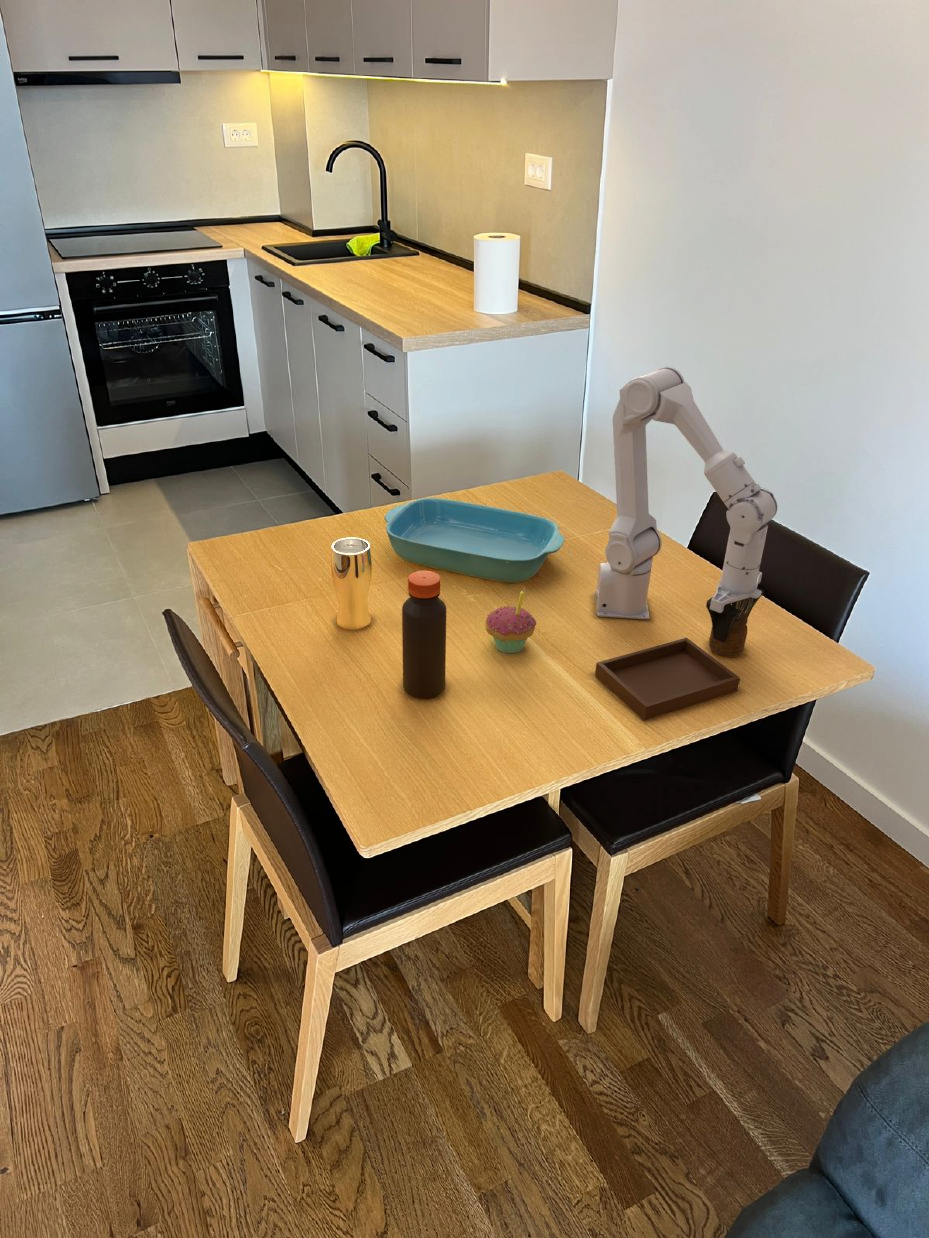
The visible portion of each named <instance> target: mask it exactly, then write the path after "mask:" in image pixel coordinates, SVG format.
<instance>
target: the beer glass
mask: <svg viewBox="0 0 929 1238" xmlns="http://www.w3.org/2000/svg"><path fill="white" fill-rule="evenodd" d="M330 548H331V555H330V556H331V557H330V567H331V568H330V569H331V578H332V583H333V588H334V591H335V593H336V595H335V596H336V600H337V615H336V624H337V625H338V626H339V627H340V628H342V629H345V630H349V631H356V630H362V629H364V628H366V627H368V626H369V625H370V624H371V622H372V617H371V612H370V609H369V597H370V591H371V584H372V578H373V577H372V576H373V565H372V564H373V563H372V562H373V561H372V554H371V553H372V552H371V543H370V542H369V541H367V540H366V539H363V538H359V537H344V538H340V539H338V540H335V541H334V542H333V543H332V544H331V547H330Z"/></svg>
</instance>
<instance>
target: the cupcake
mask: <svg viewBox="0 0 929 1238" xmlns="http://www.w3.org/2000/svg"><path fill="white" fill-rule="evenodd" d="M525 589H526V588H525V587H523V589H522V590H521V591H520V592H519V597H518V600H517V606H508V605H507V606H500V607H498V608H496V609H494V610H492V611H490V613H489V614H488V615H487V617H486V619H485V631H486V632H487V633H488V635H490V636H492V638H493V641H494V645H495V648H496V649H497V650H498V651H500V652H502V653H505V654H516V653H519V652H521V651H522V650H523V649H524V647H525V644H526V642H527V640H528V639H529V638H530V637H532V636H533V635H534V632H535V630H536V626H537V621H536V618H534V617H533V615H532V614H531V613H530V612H528V611H527V610H525V608H524V609H523V608H522V604H523V600H524V597H525Z"/></svg>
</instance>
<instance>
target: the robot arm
mask: <svg viewBox="0 0 929 1238" xmlns="http://www.w3.org/2000/svg"><path fill="white" fill-rule="evenodd" d="M651 421H655V422H660V423H665V424H669V425H674V426H675V427H676V428H677V429H678V431H679V432H680V433H681V435H683V437H684V438H685V440H686V441H687V442H688V443H689V444H690V446H692V448H693V449H694V450H695V452H696V453H697V455H698V456H699V457H700V458H701V460H702V461H703V462H704V470H703V475H704V476H705V478H706V479H707V481H708V482H709V484H710V485H711V486H712V488H713V489H714V490H715V492H716V494H717V495H718V496H719V498H720V500H721V501H722V502H723V503H724V506H725V507H726V508H727V509H728V510H726V515H725V517H726V521H727V523H728V525H729V527H730V529H729V535H728V538H727V539H728V540H727V545H726V550H725V555H724V561H723V566H722V570H721V571H722V572H721V576H720V580H719V582H718V584H717V587H716V591H715V594H714V596H713V597H712V596H711V597H710V598H709V599H707V600H706V605H705V607H706V609H707V611H708V614H709V616H710V617H709V618H710V621H711V629H712V628H713V637H714V639H717V640H719V641H722V642H725V641H726V640H727V638H728V636H729V633H730V630H731V627H732V625H733V623H734V621H735V619H736V617H737V616H738V615H739V614H740V612H741V610H743V611H744V612H745V611H746V614H747V617H748V618H749V616H750V615H751V612H752V610H753V608H754V607H755V605H756V603H757V602H758V601H759V600H760V599H761V598H762V596H763V595H764V592H765V591H764V589H763V588H760V587H758V585H759V584H761V582H762V577H763V572H761V571H760V567H761V563H762V558H763V554H764V548H765V544H766V539H767V538H766V537H767V532H768V528H769V524H768V523H769V522H771V521H772V520H773V519H774V518H775V517H776V515H777V512H778V501H777V499H776V498H775V496H774V492H772V491H771V490H769V489H767V488H765V487H761V486H760V484H759V483H756V481H755V480H754V478H753V476H752V475H751V474H750V472H749V471H748V469H747V468H746V467H745V466H744V465H745V464H746V462H745V460H744V459H743V458H742V456H738V455H737V454H736V453H735V452H733V451H729V450H725V449H723V447H722V445H721V443H720V441H719V439H718V438H717V437H716V435H715V433H714V432H713V430H712V428H711V427H710V425H709V424H708V422H707V420H706V418H705V417H704V415H703V414H702V412H701V410H700V409H699V407H698V405H697V403H696V401H695V400H694V395H693V390H692V387H691V386H690V384H688V383H687V381H685V379H684V376H683V375H682V373H681V372H680V370H677V369H676V368H674V367H671V366H664V367H661V368H659V369H657V370H655V371H652V372H649V373H646V374H644V375H642V376H637V377H634V378H631V380H629V381H628V382H626V384H625V385H624V386H622V387H621V388H620V389H619V399H618V402H617V405H616V407H615V409H614V412H613V415H612V435H613V436H612V438H613V440H612V441H613V457H614V476H615V479H614V480H615V496H616V497H615V499H616V518H615V520H614V521H613V523H612V525H611V527H610V529H609V531H608V541H607V545H606V546H605V558H606V561H607V562H600V563H599V565H598V572H597V581H596V590H595V592H594V601H595V609H596V610H595V611H596V616H597V617H602V618H603V617H604V618H620V619H634V620H635V619H636V620H649V619H650V612H649V605H648V594H649V588H650V581H651V573H652V568H653V567H652V566H653V562H654V556H657V555H658V554H659V553H660V551H661V549H662V543H663V541H662V537H661V535H660V533H659V530H658V527H657V526H658V525H657V519H656V518H655V517H654V516H653V515H652V514H650V513H649V511H650V509H649V508H650V507H649V486H648V485H649V484H648V483H649V481H648V458H647V457H648V456H647V455H648V454H647V431H646V427H647V425H648V424H649V423H650V422H651ZM747 598H748V599H747ZM739 600H740V601H739ZM744 600H745V601H744ZM746 601H747V602H746ZM749 601H750V602H749ZM752 601H753V602H752ZM737 602H738V603H737ZM740 602H741V603H740ZM750 603H751V604H752V605H751V604H750ZM748 604H749V605H748ZM737 605H738V606H737ZM739 605H740V607H739ZM742 605H743V606H742ZM736 606H737V609H736ZM744 606H745V607H744ZM747 607H748V608H747ZM750 607H751V608H750ZM743 608H744V609H743ZM739 609H740V610H739ZM746 609H748V610H746ZM749 609H750V610H749Z"/></svg>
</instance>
